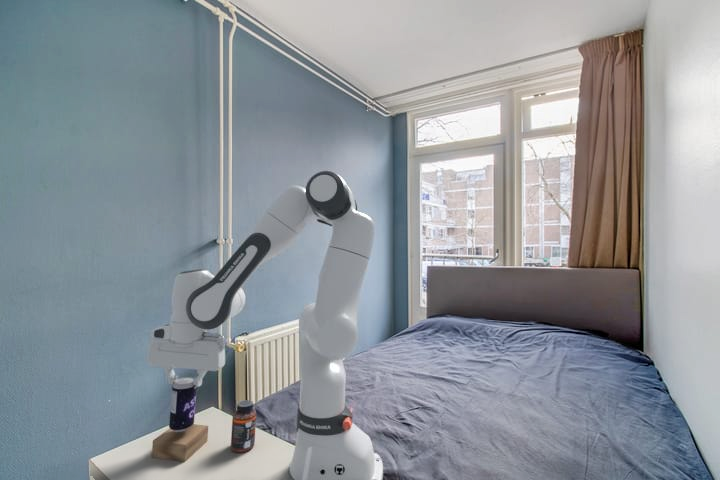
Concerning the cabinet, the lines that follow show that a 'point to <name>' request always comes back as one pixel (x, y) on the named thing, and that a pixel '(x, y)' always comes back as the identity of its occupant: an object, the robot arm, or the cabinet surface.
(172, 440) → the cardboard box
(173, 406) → the beverage can
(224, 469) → the cabinet surface
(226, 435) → the cabinet surface
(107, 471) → the cabinet surface
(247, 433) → the supplement bottle
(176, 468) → the cabinet surface
